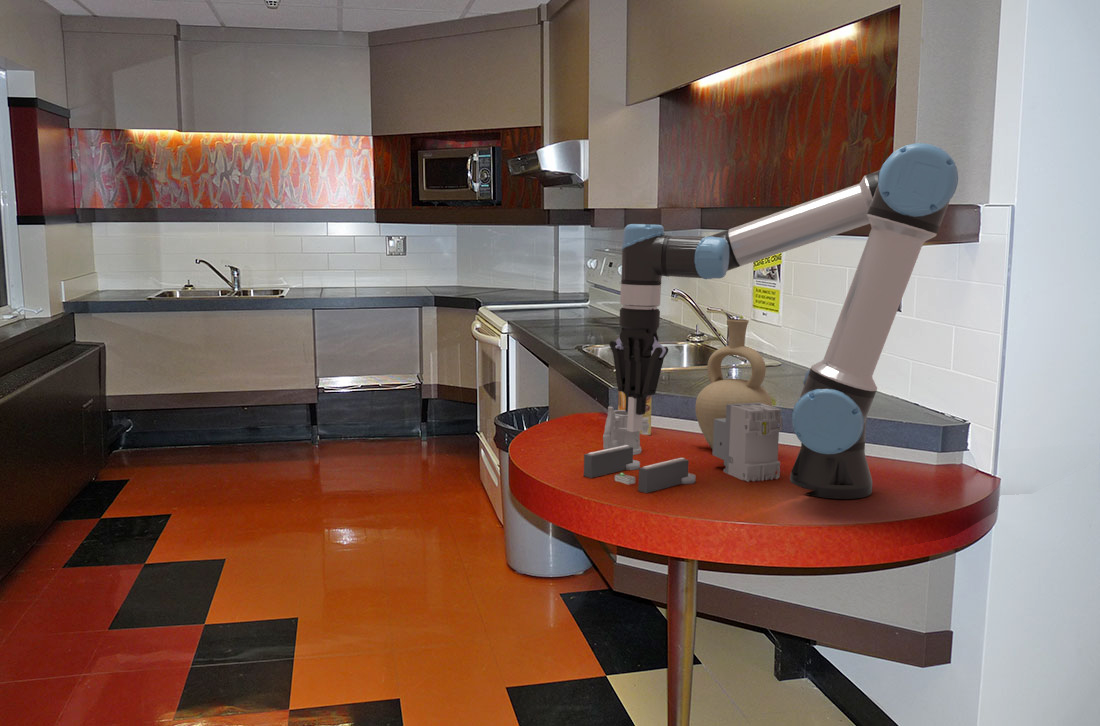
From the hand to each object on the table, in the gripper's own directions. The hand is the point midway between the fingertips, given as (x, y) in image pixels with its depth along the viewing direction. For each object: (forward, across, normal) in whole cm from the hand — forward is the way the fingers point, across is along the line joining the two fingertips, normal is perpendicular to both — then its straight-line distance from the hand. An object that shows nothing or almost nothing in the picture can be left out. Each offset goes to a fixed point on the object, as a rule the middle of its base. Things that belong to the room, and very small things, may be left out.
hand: (634, 430), depth 175 cm
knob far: (+10, +6, -1) cm, 12 cm away
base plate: (+11, -2, -2) cm, 11 cm away
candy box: (+11, +32, -37) cm, 51 cm away
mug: (+11, +16, -14) cm, 24 cm away
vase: (+11, +4, -37) cm, 39 cm away
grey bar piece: (+9, -8, -1) cm, 12 cm away
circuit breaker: (+11, -10, -21) cm, 26 cm away
